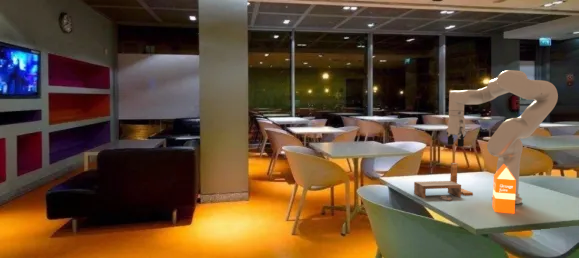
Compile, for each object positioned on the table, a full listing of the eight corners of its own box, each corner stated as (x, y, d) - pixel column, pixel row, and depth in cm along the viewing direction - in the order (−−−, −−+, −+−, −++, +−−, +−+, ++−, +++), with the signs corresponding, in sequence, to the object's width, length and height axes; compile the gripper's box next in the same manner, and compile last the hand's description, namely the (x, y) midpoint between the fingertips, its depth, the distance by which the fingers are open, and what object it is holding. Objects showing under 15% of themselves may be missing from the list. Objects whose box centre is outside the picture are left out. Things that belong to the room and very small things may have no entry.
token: (453, 201, 195) (453, 198, 195) (443, 201, 195) (443, 198, 195) (448, 198, 200) (448, 195, 200) (438, 198, 200) (438, 195, 200)
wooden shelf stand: (460, 196, 203) (461, 184, 202) (423, 198, 200) (423, 186, 199) (450, 192, 213) (450, 180, 212) (414, 193, 210) (414, 181, 209)
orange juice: (511, 208, 182) (513, 164, 180) (514, 213, 173) (517, 167, 172) (491, 206, 184) (493, 163, 183) (494, 211, 176) (496, 166, 175)
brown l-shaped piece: (472, 195, 207) (473, 167, 206) (463, 195, 206) (464, 167, 205) (456, 188, 222) (457, 162, 221) (447, 188, 221) (448, 163, 220)
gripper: (472, 114, 209) (471, 147, 210) (454, 113, 226) (453, 143, 227) (458, 114, 208) (457, 147, 209) (441, 113, 225) (440, 143, 226)
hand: (455, 145), depth 218 cm, fingers open, 9 cm apart
